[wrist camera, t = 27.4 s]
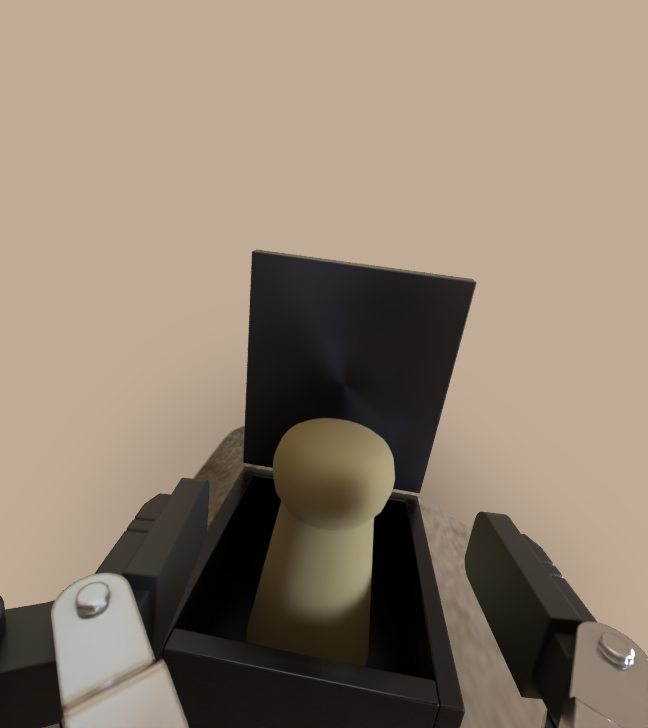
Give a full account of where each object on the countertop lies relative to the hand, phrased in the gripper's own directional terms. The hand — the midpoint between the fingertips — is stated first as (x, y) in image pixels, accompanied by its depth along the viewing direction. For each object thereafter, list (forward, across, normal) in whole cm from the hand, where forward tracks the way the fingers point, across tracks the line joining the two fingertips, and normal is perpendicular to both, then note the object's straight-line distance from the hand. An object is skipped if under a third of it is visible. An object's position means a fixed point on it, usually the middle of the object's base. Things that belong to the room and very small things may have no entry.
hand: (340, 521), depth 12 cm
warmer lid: (+10, -1, -1) cm, 10 cm away
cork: (+5, 0, +11) cm, 12 cm away
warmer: (+5, 0, +11) cm, 12 cm away
